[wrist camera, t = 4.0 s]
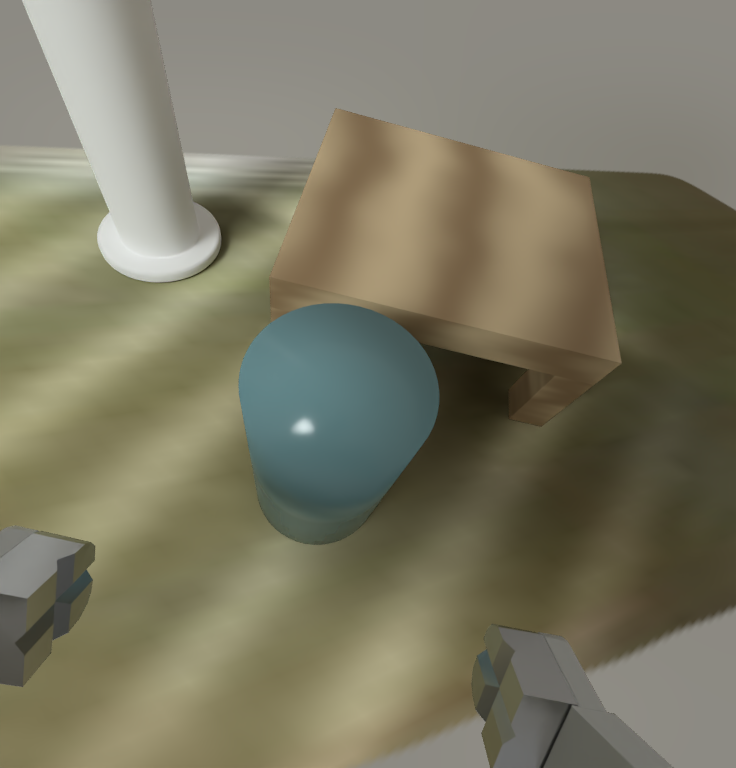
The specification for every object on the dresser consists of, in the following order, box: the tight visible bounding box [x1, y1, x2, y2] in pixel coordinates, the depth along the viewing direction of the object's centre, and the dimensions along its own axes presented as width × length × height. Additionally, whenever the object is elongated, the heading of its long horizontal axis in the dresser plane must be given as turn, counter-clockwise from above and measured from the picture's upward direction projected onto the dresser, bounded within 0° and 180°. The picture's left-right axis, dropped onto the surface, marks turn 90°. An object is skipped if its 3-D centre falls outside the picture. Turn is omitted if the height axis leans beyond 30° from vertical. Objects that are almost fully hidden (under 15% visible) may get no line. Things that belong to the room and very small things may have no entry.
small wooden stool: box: [269, 108, 622, 426], centre depth 25 cm, size 16×14×7 cm
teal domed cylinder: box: [239, 303, 439, 545], centre depth 17 cm, size 6×6×10 cm
